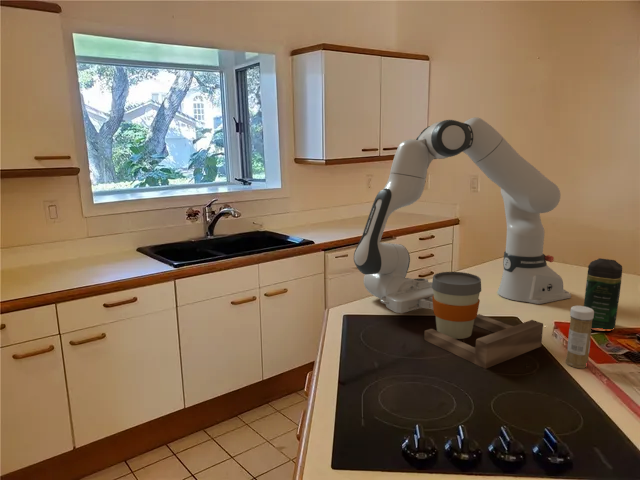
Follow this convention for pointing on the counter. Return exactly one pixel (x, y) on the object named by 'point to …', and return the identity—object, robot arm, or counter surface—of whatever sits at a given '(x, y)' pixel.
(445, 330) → the reusable coffee cup
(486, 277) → the counter surface
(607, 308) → the coffee jar
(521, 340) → the walnut bay
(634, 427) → the counter surface
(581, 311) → the spice jar
